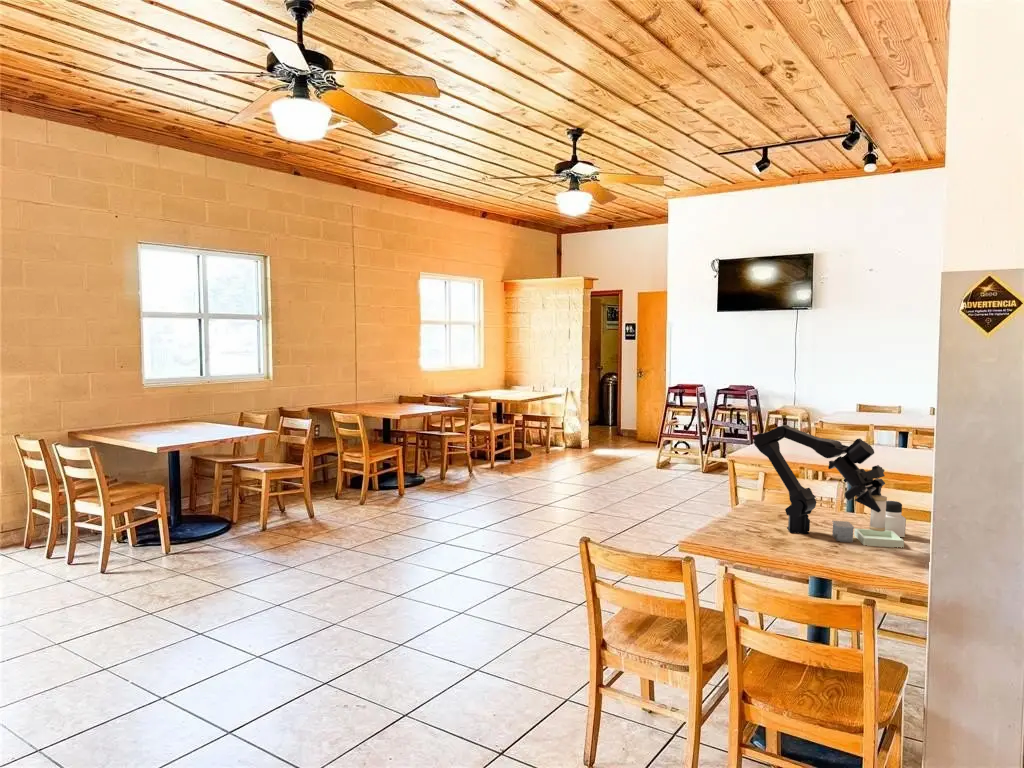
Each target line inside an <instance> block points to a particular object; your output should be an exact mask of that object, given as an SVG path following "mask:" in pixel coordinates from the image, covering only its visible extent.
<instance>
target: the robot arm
mask: <svg viewBox="0 0 1024 768" xmlns="http://www.w3.org/2000/svg"><path fill="white" fill-rule="evenodd" d="M783 439H788V440H789V441H793V442H795V443H798V444H801V445H803V446H805V447H807V448H811V449H812V450H814V452H815V453H816V454H818V455H820V456H822V458H823V457H824V459H834V458H835V459H834V460H829V461H828V467H827V468H828V470H832V469H836V470H837V472H839V473H840V475H841V476H842V477H843V480H842V481H843V482H844V483H848V484H849V486H850V488H849V489H848V490H846V491H845V492H844V497H845V499H847V501H848V502H849V501H853V500H854V502H857V503H860V505H861V504H862V505H863V506H865V507H867V508H869V509H870V510H871V509H873V510H874V511H876V512H880V511H881V510H880V508H879V506H878V505H877V503H876V502H875V500H874V499H873V497H872V495H881V496H883V495H882V493H881V492H882V488H883V486H884V485H886V482H885V481H884V480H883V479H882V478H883V477H885V473H884V472H885V469H884V468H883V467H881V466H880V465H879V464H877V465H874V466H872V467H871V469H869V470H865V469H863V468H859V466H858V465H857V464H859V465H861V464H863V463H864V462H865V461H866V460H868V459H869V458H870V457H872V456H873V455H874V454H875V450H874V448H873V446H872V445H871V444H869V443H867V442H866V441H864V440H863V439H862V438H856V439H855V440H854V441H853V443H851V444H850V445H849V446H848V445H845V444H842V442H841V441H840V440H835V439H831V438H824V437H818V436H815V435H812V434H809V433H807V432H804V431H802V430H799V429H797V428H794V427H791V426H789V425H787V424H784V425H782V424H781V425H779V426H777V427H776V428H774V429H771V430H768V431H766V432H761V433H757V434H756V435H754V438H753V444H754V446H755V447H756V448H757V449H758V451H759V453H761V454H763V455H764V456H765V457H767V459H768V460H769V462H770V463H771V465H772V467H773V468H774V470H775V471H776V473H777V475H778V476H779V477H780V480H781V481H782V483H783V484H784V486H785V488H786V489H787V491H788V498H789V501H790V503H791V504H790V505H788V507H786V508H785V509H784V510H785V511H784V512H785V514H786V516H788V522H787V523H788V525H787V527H786V529H787V531H788V532H789V533H790V534H804V535H809V534H810V528H811V520H810V519H809V515H810V514H811V513H812V511H813V510H814V509H815V508H816V506H817V500H816V498H817V497H816V495H814V493H813V491H812V489H811V488H810V487H807V488H805V487H803V486H802V484H801V482H800V481H799V480H798V478H797V477H796V475H795V473H794V472H793V470H792V469H791V467H790V465H789V464H788V462H787V461H786V459H785V457H784V456H783V454H782V453H781V450H780V447H781V446H780V443H779V441H781V440H783ZM843 454H844V455H843ZM842 455H843V456H842ZM855 497H856V498H855ZM854 498H855V499H854ZM886 509H887V507H886Z"/></svg>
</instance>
